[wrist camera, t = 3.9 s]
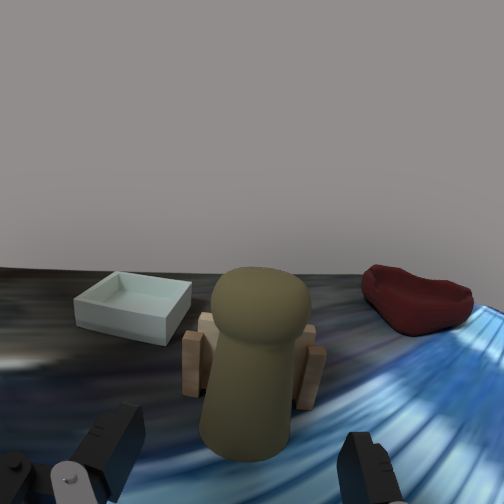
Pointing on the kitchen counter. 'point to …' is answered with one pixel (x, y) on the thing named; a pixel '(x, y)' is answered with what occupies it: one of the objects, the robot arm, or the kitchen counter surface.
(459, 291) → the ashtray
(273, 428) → the cork
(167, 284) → the tray
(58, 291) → the kitchen counter surface
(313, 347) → the bracket
